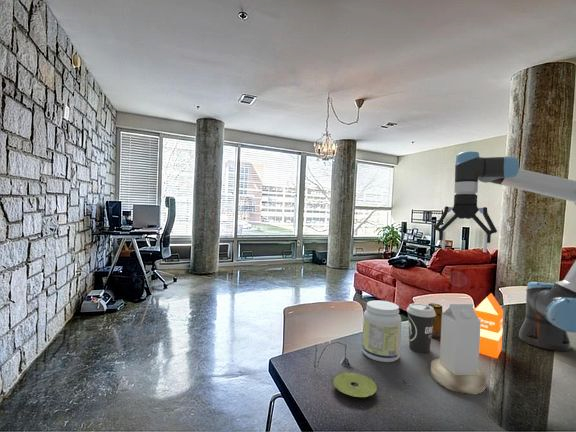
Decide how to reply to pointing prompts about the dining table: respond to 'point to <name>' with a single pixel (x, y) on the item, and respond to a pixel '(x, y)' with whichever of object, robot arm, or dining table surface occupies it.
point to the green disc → (355, 384)
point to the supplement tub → (382, 331)
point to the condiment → (437, 321)
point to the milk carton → (460, 339)
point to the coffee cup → (420, 326)
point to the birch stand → (458, 379)
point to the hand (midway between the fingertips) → (463, 250)
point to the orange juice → (490, 326)
